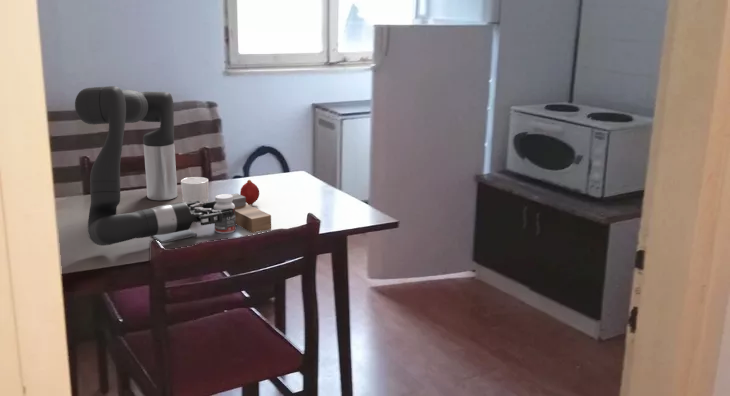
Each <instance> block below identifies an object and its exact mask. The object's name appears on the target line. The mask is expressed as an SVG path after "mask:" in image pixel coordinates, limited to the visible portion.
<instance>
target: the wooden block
mask: <svg viewBox="0 0 730 396" xmlns="http://www.w3.org/2000/svg"><path fill="white" fill-rule="evenodd" d="M230 195H232V196H233V201H232V203H233V204H234V205H235V220H236V226H238V227H240V228H242V229H243V230H246V231H248V232H249V233H251V234H254V233H258V232H264V231H268V230H272V215H271V214H269V213H267V212H265V211H263V210H261V209H259V208H257V207H255V206H252V205H248V204H247V203H246V197H244V196H242V195H240V193H232V194H230Z"/></svg>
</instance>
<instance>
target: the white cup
mask: <svg viewBox="0 0 730 396" xmlns="http://www.w3.org/2000/svg"><path fill="white" fill-rule="evenodd" d="M180 187H181V196H182V197H181V199H182V202H185V203H189V202H194V201H200V202H205V203H206V202H209V178H207V177H203V176H202V177H201V176H191V177H185V178H182V179H181V180H180Z"/></svg>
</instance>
